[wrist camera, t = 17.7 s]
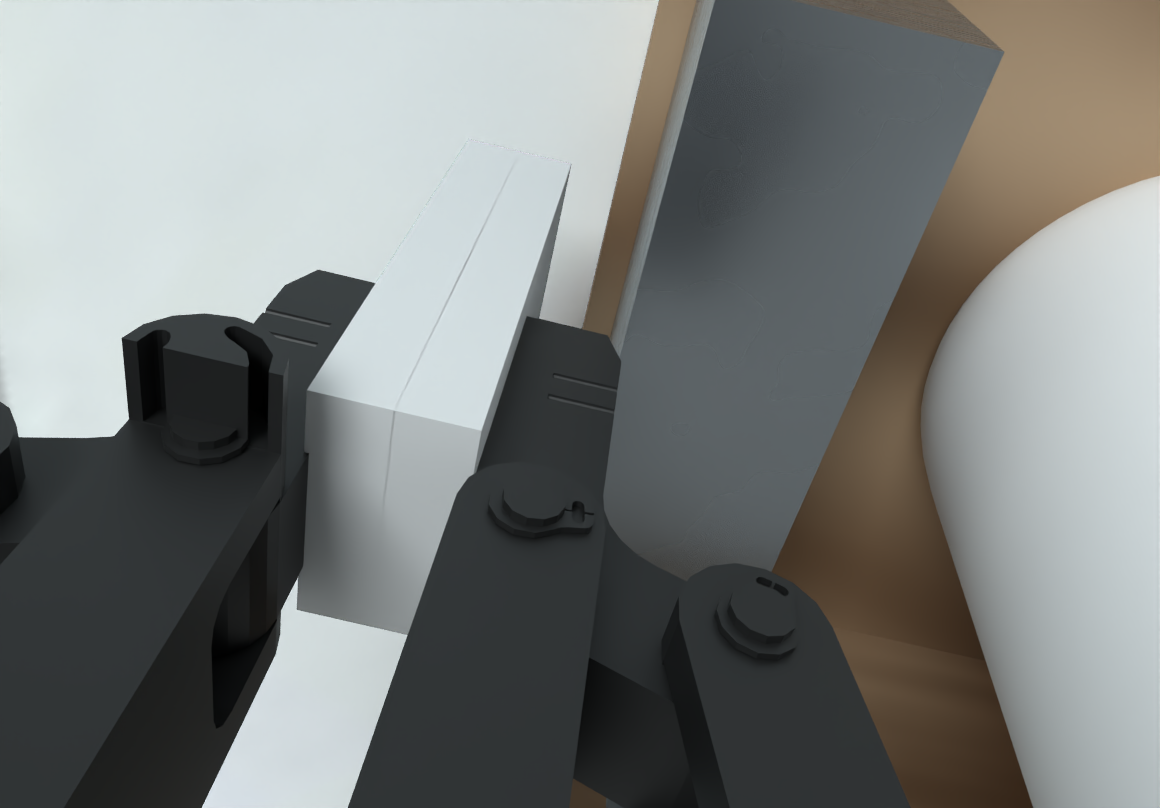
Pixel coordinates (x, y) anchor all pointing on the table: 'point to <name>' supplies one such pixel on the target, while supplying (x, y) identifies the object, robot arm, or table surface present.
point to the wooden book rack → (904, 356)
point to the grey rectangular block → (774, 257)
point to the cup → (1062, 495)
